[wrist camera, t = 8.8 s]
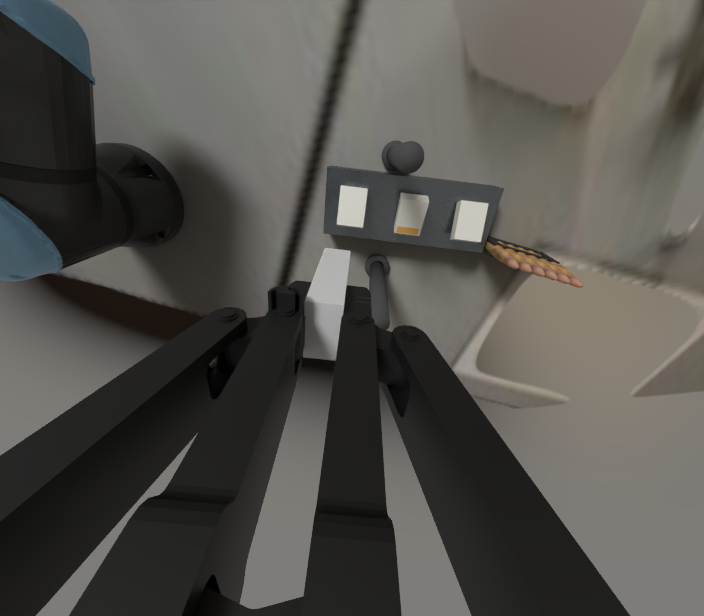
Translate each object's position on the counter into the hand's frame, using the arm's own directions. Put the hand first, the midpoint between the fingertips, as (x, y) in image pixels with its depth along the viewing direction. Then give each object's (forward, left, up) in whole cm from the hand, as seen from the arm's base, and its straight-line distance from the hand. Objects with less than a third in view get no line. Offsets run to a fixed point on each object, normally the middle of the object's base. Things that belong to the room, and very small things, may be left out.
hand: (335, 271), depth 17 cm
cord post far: (+4, -10, -31) cm, 33 cm away
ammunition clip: (+25, -5, -31) cm, 40 cm away
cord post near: (+4, +6, -31) cm, 32 cm away
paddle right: (+15, 0, -25) cm, 29 cm away
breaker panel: (+7, 0, -31) cm, 31 cm away
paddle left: (-1, 0, -25) cm, 25 cm away
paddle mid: (+7, 0, -25) cm, 26 cm away
